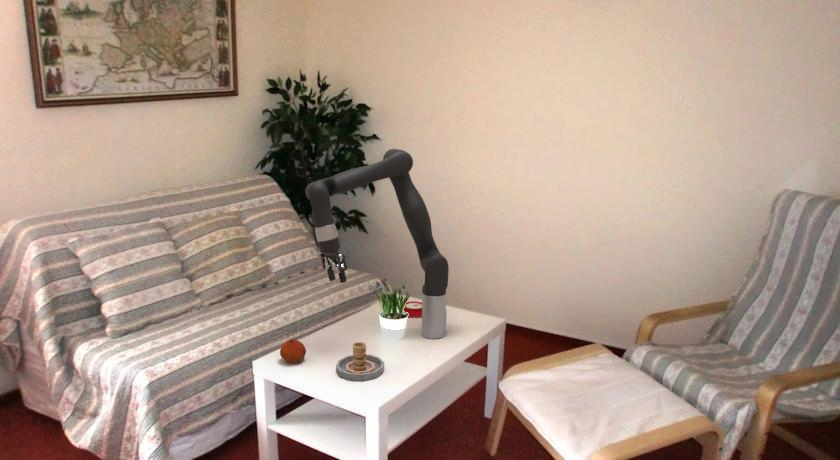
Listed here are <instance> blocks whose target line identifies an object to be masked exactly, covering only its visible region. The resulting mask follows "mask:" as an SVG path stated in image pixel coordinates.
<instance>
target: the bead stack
mask: <svg viewBox="0 0 840 460" xmlns="http://www.w3.org/2000/svg"><path fill="white" fill-rule="evenodd" d="M366 354H367V344H366V343H365V342H363V341H355V342H354V343H353V344H352V355H353V356H354V357H353V370H354V371H357V372H358V371H365V370H366Z"/></svg>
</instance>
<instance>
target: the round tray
mask: <svg viewBox="0 0 840 460" xmlns="http://www.w3.org/2000/svg"><path fill="white" fill-rule="evenodd" d="M353 357H354V356H353V354H351V355H346V356H344V357H342V358H340V359H339V360H338V361H337V363H336V365H335V370H336V374H337V375H338V376H339V378H342V379H344V380H346V381H352V382H366V381H370V380H374V379H377V378H378V377H380V376H381V375H382V374H383V373H384V371H385V370H384V368H385V361H384V360H383V359H382V358H380V357H378V356H376V355H372V354H368V353H366V370H365V371H358V372H357V371H354V370H353Z"/></svg>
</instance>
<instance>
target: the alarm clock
mask: <svg viewBox="0 0 840 460" xmlns="http://www.w3.org/2000/svg"><path fill="white" fill-rule="evenodd" d="M405 303H406V302H405ZM404 311H405V312H408V313H409V317H408V318H410V317H412V318H411V319H414V318H413V317H415V319H416V318H422V301H416V300H415V301H414V300H413V301H407V303H406V305H405V308H404Z"/></svg>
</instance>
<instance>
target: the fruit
mask: <svg viewBox="0 0 840 460" xmlns="http://www.w3.org/2000/svg"><path fill="white" fill-rule="evenodd" d="M306 353H307V350H306V347H305V345H304V343H303V342H301V341H299V340H297V339H293V338H290V339H288V340H287V341H285V342H284V343H283V344H282V345H281V346H280V350H279V354H280V356H281V359H282V360H283V361H285V362H286V363H290V364H292V363H297V362H300V361H301V360H303V359H304V358H305V356H306Z"/></svg>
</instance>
